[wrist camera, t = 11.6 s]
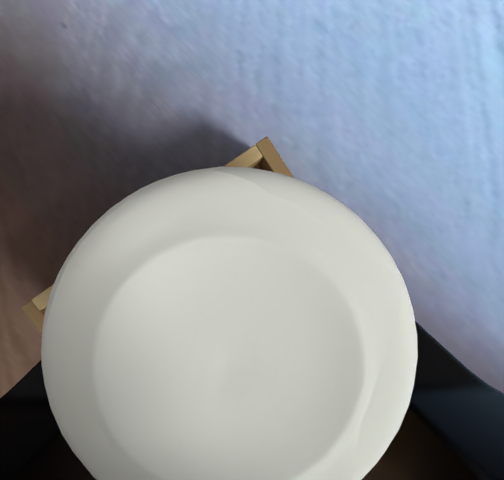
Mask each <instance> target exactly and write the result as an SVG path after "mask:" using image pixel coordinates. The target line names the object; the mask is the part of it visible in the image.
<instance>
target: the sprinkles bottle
mask: <svg viewBox="0 0 504 480" xmlns="http://www.w3.org/2000/svg"><path fill="white" fill-rule="evenodd" d="M417 359H418V350H417V331H416V325H415V319H414V313H413V308H412V305H411V301H410V298H409V294H408V291H407V288H406V285H405V283H404V280H403V277H402V275H401V273H400V272H399V270H398V268H397V267H396V264H395V262H394V260H393V259H392V257H391V255H390V254H389V252H388V251H387V250H386V248H385V247H384V245H383V244H382V243H381V241H380V240H379V239H378V237H377V236H376V235H375V234H374V233H373V232H372V230H371V229H370V228H369V227H368V226H367V225H366V224H365V222H364V221H363V220H361V219H360V218H359V217H358V216H357V215H356V214H355V213H354V212H353V211H352V210H350V209H349V208H348V207H346V206H345V205H344V204H342V203H341V202H339V201H338V200H336V199H335V198H333V197H332V196H330V195H329V194H327V193H326V192H324V191H322V190H320V189H318V188H316V187H314V186H312V185H310V184H308V183H306V182H303V181H301V180H299V179H296V178H293V177H290V176H287V175H284V174H280V173H275V172H271V171H267V170H261V169H255V168H249V167H214V168H206V169H199V170H192V171H188V172H184V173H180V174H176V175H173V176H170V177H167V178H164V179H161V180H158V181H156V182H153V183H151V184H149V185H147V186H145V187H142V188H141V189H139V190H137V191H136V192H134V193H132V194H131V195H129V196H127V197H126V198H124V199H123V200H122V201H120V202H119V203H117V204H116V205H114V206H113V207H111V208H110V209H109V210H108V211H107V212H106V213H105V214H104V215H102V216H101V217H100V218H99V219H98V220H97V221H96V222H95V223H94V224H93V225H92V226H91V227H90V228H89V229H88V231H87V232H86V233H85V234H84V235H83V236H82V238H81V239H80V240H79V241H78V242H77V244H76V245H75V247H74V248H73V250H72V251H71V252H70V254H69V256H68V257H67V259H66V261H65V262H64V264H63V266H62V268H61V269H60V271H59V273H58V276H57V278H56V280H55V283H54V285H53V287H52V290H51V293H50V296H49V300H48V304H47V307H46V310H45V315H44V321H43V330H42V343H41V361H42V370H43V377H44V384H45V388H46V392H47V396H48V400H49V404H50V407H51V410H52V412H53V415H54V417H55V419H56V422H57V424H58V426H59V428H60V431H61V433H62V435H63V437H64V438H65V440H66V441H67V443H68V445H69V446H70V448H71V449H72V451H73V452H74V453H75V455H76V456H77V457H78V458H79V460H80V461H81V462H82V463H83V465H84V466H85V467H86V468H87V470H88V471H89V472H90V473H91V475H92V476H93V477H94V478H95V479H97V480H362V479H363V477H364V476H365V475H366V474H367V473H368V472H369V471H370V470H371V469H372V468H373V467H374V466H375V465H376V463H377V462H378V461H379V460H380V458H381V457H382V455H383V454H384V453H385V451H386V450H387V448H388V446H389V445H390V443H391V442H392V440H393V438H394V437H395V435H396V434H397V432H398V430H399V428H400V426H401V424H402V421H403V419H404V416H405V414H406V411H407V409H408V406H409V403H410V399H411V395H412V391H413V387H414V380H415V373H416V366H417Z"/></svg>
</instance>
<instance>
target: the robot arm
mask: <svg viewBox="0 0 504 480" xmlns="http://www.w3.org/2000/svg"><path fill="white" fill-rule="evenodd" d="M415 325H416V331H417V350H418V359H417V366H416V373H415V380H414V387H413V391H412V395H411V399H410V403H409V406H408V409H407V411H406V414H405V416H404V419H403V421H402V424H401V426H400V428H399V430H398V432H397V434H396V435H395V437H394V438H393V440H392V442H391V443H390V445H389V446H388V448H387V450H386V451H385V453H384V454H383V455H382V457H381V458H380V460H379V461H378V462H377V463H376V465H375V466H374V467H373V468H372V469H371V470H370V471H369V472H368V473H367V474H366V475H365V476H364V477H363V479H362V480H504V393H502V392H500V391H498V390H497V389H495V388H493V387H492V386H490V385H489V384H487V383H486V382H484V381H483V380H481V379H480V378H479V377H477V376H476V375H475V374H473V373H472V372H471V371H470V370H469V369H467V368H466V367H465V366H464V365H463V364H462V363H461V362H460V361H458V360H457V359H456V358H455V357H454V356H453V355H452V354H451V353H450V352H449V351H447V350H446V349H445V348H444V347H443V346H442V345H441V344H440V343H439V342H437V341H436V340H435V339H434V338H433V337H432V336H431V335H430V334H429V333H428V332H426V331H425V330H424V329H423V328H422V327H421V326H420V325H419V324H418V323H417V322H416V321H415ZM0 480H97V479H95V478H94V477H93V476H92V475H91V473H90V472H89V471H88V470H87V468H86V467H85V466H84V465H83V463H82V462H81V461H80V460H79V458H78V457H77V456H76V455H75V453H74V452H73V451H72V449H71V448H70V446H69V445H68V443H67V441H66V440H65V438H64V437H63V435H62V433H61V431H60V428H59V426H58V424H57V422H56V419H55V417H54V415H53V412H52V410H51V407H50V404H49V400H48V396H47V392H46V388H45V384H44V377H43V370H42V361H40V362H39V363H38V364H37V365H36V366H35V367H33V368H32V369H31V370H30V371H29V372H28V373H27V374H26V375H25V376H24V377H23V378H22V379H21V380H20V381H19V382H18V383H17V384H16V385H15V386H14V387H13V388H12V389H11V390H10V391H8V392H7V393H6V394H5V395H4V396H2V397H1V398H0Z"/></svg>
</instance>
